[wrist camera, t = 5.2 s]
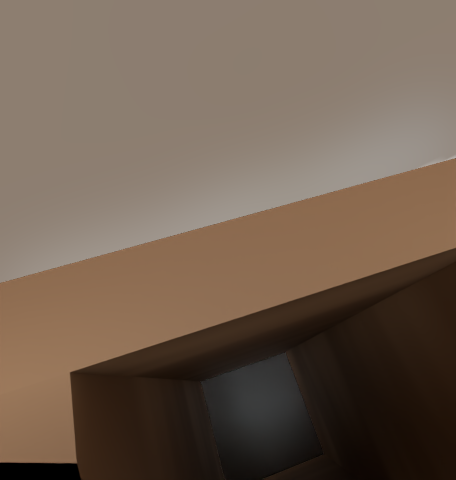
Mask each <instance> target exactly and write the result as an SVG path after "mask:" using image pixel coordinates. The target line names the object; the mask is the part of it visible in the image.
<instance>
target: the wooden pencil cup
mask: <svg viewBox="0 0 456 480" xmlns="http://www.w3.org/2000/svg"><path fill="white" fill-rule="evenodd" d="M284 352H286V354H287V357H288V360H289V362H290V365H291V368H292V370H293V373H294V376H295V378H296V381H297V383H298V386H299V389H300V391H301V394H302V397H303V399H304V402H305V405H306V407H307V410H308V413H309V415H310V418H311V421H312V423H313V426H314V428H315V431H316V434H317V436H318V439H319V442H320V444H321V447H322V450H323V452H324V454H323V455H321V456H318V457H316V458H313V459H311V460H308V461H306V462H303V463H301V464H298V465H296V466H294V467H291V468H289V469H286V470H284V471H281V472H279V473H276V474H274V475H271V476H269V477H266V478H264V479H262V480H456V158H455V159H451V160H447V161H444V162H440V163H437V164H433V165H429V166H426V167H422V168H418V169H415V170H411V171H407V172H404V173H400V174H396V175H393V176H389V177H385V178H382V179H378V180H374V181H371V182H367V183H364V184H360V185H356V186H353V187H349V188H345V189H342V190H338V191H334V192H331V193H327V194H324V195H320V196H316V197H312V198H309V199H305V200H302V201H298V202H294V203H291V204H287V205H283V206H280V207H276V208H273V209H269V210H265V211H261V212H258V213H254V214H250V215H247V216H243V217H239V218H236V219H232V220H229V221H225V222H221V223H218V224H214V225H210V226H207V227H203V228H199V229H196V230H192V231H188V232H185V233H181V234H177V235H174V236H170V237H167V238H163V239H159V240H156V241H152V242H148V243H145V244H141V245H137V246H134V247H130V248H126V249H123V250H119V251H115V252H112V253H108V254H105V255H101V256H97V257H94V258H90V259H86V260H83V261H79V262H75V263H72V264H68V265H64V266H61V267H57V268H53V269H50V270H46V271H43V272H39V273H35V274H32V275H28V276H24V277H21V278H17V279H13V280H10V281H6V282H2V283H0V480H225V478H224V474H223V470H222V466H221V462H220V458H219V454H218V450H217V446H216V442H215V438H214V434H213V430H212V426H211V422H210V418H209V414H208V410H207V406H206V402H205V398H204V394H203V390H202V386H201V382H200V381H203V380H206V379H209V378H212V377H215V376H217V375H220V374H223V373H226V372H229V371H232V370H235V369H238V368H241V367H243V366H246V365H249V364H252V363H255V362H258V361H261V360H264V359H266V358H269V357H272V356H275V355H278V354H281V353H284Z"/></svg>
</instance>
